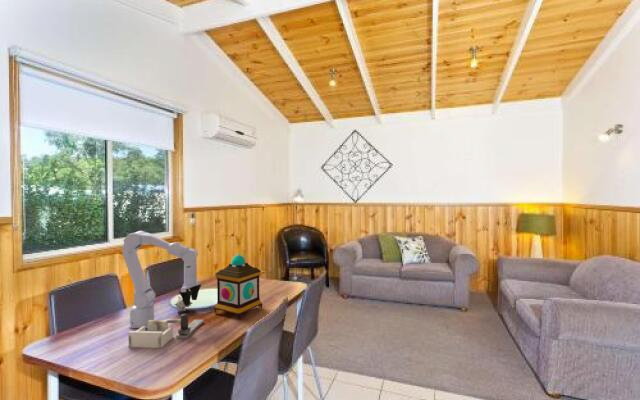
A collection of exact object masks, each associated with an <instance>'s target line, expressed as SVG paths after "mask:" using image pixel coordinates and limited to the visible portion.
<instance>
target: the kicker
mask: <svg viewBox="0 0 640 400" xmlns="http://www.w3.org/2000/svg"><path fill="white" fill-rule="evenodd" d="M153 322H154V324H156V326H157V331H160V332H164V331H166V330H167V329H168V328H169V325H168V324H180V328H179V329H178V330H177V331H178V332H177V333H178V334H188V333H189V332H190V331H191V327H188V325H189V314H188V313H182V314H180V318H166V319H154V320H149V321H148V328H147V331H149V327H150V326H151V325H153ZM178 334H177V335H178Z"/></svg>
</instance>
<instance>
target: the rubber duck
mask: <svg viewBox="0 0 640 400" xmlns="http://www.w3.org/2000/svg"><path fill="white" fill-rule="evenodd" d="M149 331H157V326H156V324H154V322H153V325H151V326H150V327H149Z"/></svg>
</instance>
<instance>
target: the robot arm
mask: <svg viewBox="0 0 640 400" xmlns="http://www.w3.org/2000/svg"><path fill="white" fill-rule="evenodd" d="M144 245H153V246H154V247H155V246H156V247H158V248H161V249H164V250H166V251H167V254H169V255H172V256H174V257H177V258H179V259H182V261H183V284H182V287H181V289H180V290H179V292H178V293H179V296H180V297H182V299H183V302H184V305H185V306H189V305H190V301H191V300H192V301H196V300H198V296H199V291H200V289H201V287H202V284H201V283H200V279H198V270H197V268H198V267H197V266H198V264H197V258H198V255H199V254H198V251H197V250H196V248H193V247H191V248H190V246H185V245H182V244H180V242H179V241H174V242H171V243H170V242H168V241H166V240H164V239H162V238H160V237H158V236H156V235H153V234H151V233H150V232H146V231H144V230H138V231H136V232H131V233H128V234H127V235H126V236H125V238H124V239H123V246H122V250H121V251H122V254H121V255H122V256H123V259H124V262H125V266H126V267H127V271H128V274H129V276H130V279H131V281H132V285H133V288H134V290H133V291H134V292H133V297H134V300H133V304H134V305H133V306H132V308H131V309H130V313H129V321H130V322H129V326H128V328H129V329H134V328H135V329H139V328H141V327H142V326H145V329H148V321H149V320H155V303H154V300H155V299H156V296H157V294H156V291H154V290H153V288H152V286H151V285H150V284H149V283H148V281H147V278H146V276H145V273H144V271H143V268H142V264H141V262H140V259H139V257H138V253H137V252H138V250H139V249H141V248H140V247H142V246H144ZM190 306H191V305H190Z"/></svg>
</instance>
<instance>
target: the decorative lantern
mask: <svg viewBox="0 0 640 400" xmlns="http://www.w3.org/2000/svg"><path fill="white" fill-rule="evenodd" d="M261 273H262V270H260V269H259V268H258V267H254V266H251V264H249V262H246V259H245V257H244V256H243V255H241V254H236V255H234V256H233V258H232V259H231V263H229V264H228V265H227V266H226V267H224V268H223V269H219V270H218V271H217V272H216V273H214V276H215V277H216V281H217V282H216V283H217V286H216V289H217V299H216V300H217V302H216V305H214V314H215V315H218V314H219V311H221V312H226V313H230V314H233V315H236V316H237V321H240V320H241V317H242V315H243V314H244V313H246V312H248V311H251V310H253V309H255V308H257V307H258V309H259V310H260V311H261V310H262V309H263V303H262V301H261V298H260V275H261Z"/></svg>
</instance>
